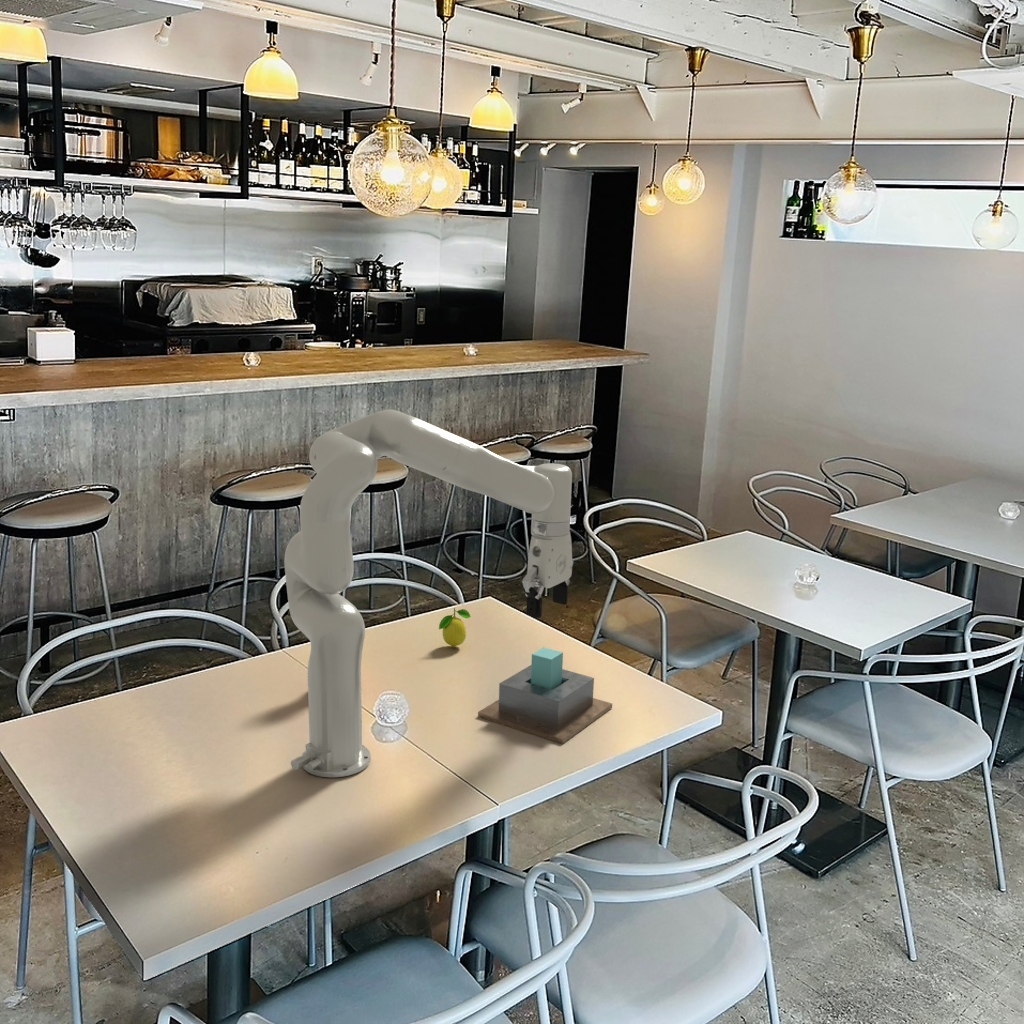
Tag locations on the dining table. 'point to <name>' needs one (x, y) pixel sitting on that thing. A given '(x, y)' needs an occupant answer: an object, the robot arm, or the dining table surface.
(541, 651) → the teal post
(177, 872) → the dining table surface
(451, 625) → the lemon
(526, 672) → the well
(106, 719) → the dining table surface
